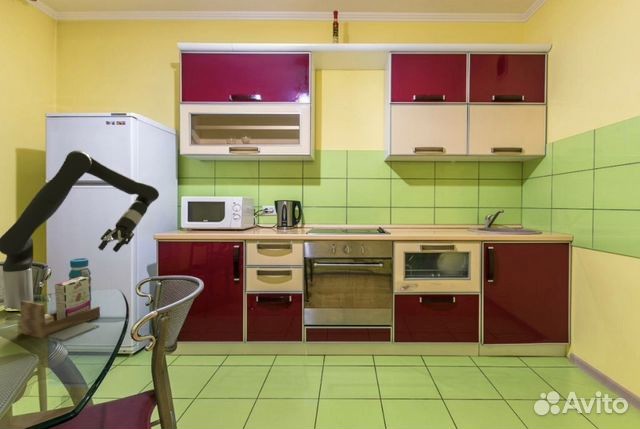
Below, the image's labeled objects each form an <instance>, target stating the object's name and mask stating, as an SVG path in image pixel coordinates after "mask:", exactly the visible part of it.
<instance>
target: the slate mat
mask: <svg viewBox="0 0 640 429" xmlns="http://www.w3.org/2000/svg"><path fill="white" fill-rule="evenodd" d="M97 326H99V327H100V325H98V324H94V323H89V322H83V323H80V324H78V325H75V326H73V327H70V328H67V329H65V330H62V331H59V332H57V333H54V334H51V335H49V336H47V337H48V338H51V339H54V340H59V341H62V342H65V341H68V340H70V339H73V338H74V337H77V336H79V335H82V334H84V333H85V334H86V333H87V332H89V330H90V331H92V330H94V329H93V328H95V327H97ZM97 328H98V327H97ZM91 329H92V330H91ZM95 329H96V328H95Z"/></svg>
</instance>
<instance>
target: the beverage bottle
mask: <svg viewBox="0 0 640 429" xmlns="http://www.w3.org/2000/svg"><path fill="white" fill-rule="evenodd" d="M69 263H70V264H69V265H70V268H71V269H70V271H69V273H68V277H69V278H68V280H71V279H74V278H78V277H89V282H90V303H91V302H92V277H91V274H92V273H91V270H90V269H89V259H88V258H86V257H83V258H82V257H81V258H72V259H70V260H69Z"/></svg>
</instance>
